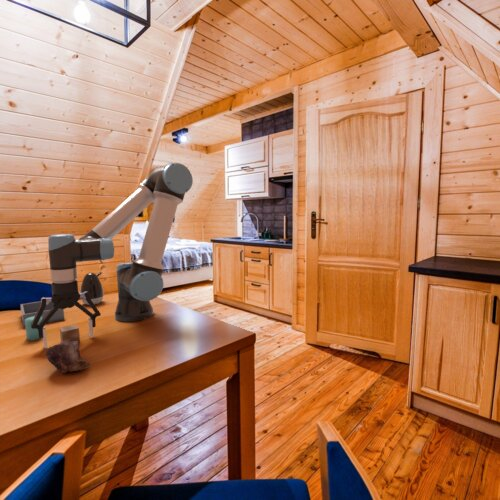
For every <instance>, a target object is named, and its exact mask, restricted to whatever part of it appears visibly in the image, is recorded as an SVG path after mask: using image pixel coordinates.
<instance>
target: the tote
mask: <svg viewBox="0 0 500 500" xmlns="http://www.w3.org/2000/svg"><path fill="white" fill-rule="evenodd" d="M40 305H41V300H40V301H33V302H27V303H20V305H19V306H20V312H21V320H22V325H23V328H26V327H25V319H26V318H29V317H34V316H35V315H36V313H37V311H38V309H39V307H40ZM53 305H54V303H53V302H52V301H50V302H49V304H48V305H46V307H45V309H44V311H43V313H42V315H41V317H42V319H43V318H44V317H45V315H46V314H47V313H48V312H49V311H50V309H51V308H52V306H53ZM64 311H65V309H60V308H59V309H58V310H57V311H56V312H55V313H54V315H53V316H52V317H51V318H50V320H49V321H48V322H47V323H46V324H49V323H55V322H59V321H65V312H64Z"/></svg>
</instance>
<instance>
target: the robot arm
mask: <svg viewBox="0 0 500 500" xmlns="http://www.w3.org/2000/svg"><path fill="white" fill-rule="evenodd" d="M193 179H194V178H193V175H192V173H191V171H190V169H188V167H187V166H186V165H185V164H183V163H179V162H170V163H167V164H165V165H161V166H159V167H157V168H155V169H154V170H153V171H151V173H150V174H149V175H148V176H146V178H145V179H143V180H142V181H141V182H140V183H139V184H138V189H137V190H135V191H134V192H133V193H132V194H131V195H129V197H127V198H126V199H125V200H123V202H122V203H120V204H119V205H118V206H117V207H116V208H115V209H113V210H112V211H111V212H110V213H109V214H108V215H107V216H106V217H104V218H103V219H102V220H101V221H100V222H98V223H97V224H96V226H94V227H93V228H92V229H90V230H89V232H87V233H86V234H85V235H83V236H81V237H79V238H78V239H76V238H75V235H74V234H71V233H70V234H69V233H67V234H66V233H61V234H51V235H50V236H48V238H47V239H48V248H47V250H48V259H49V260H48V261H49V270H50V281H51V294H52V295H51V297H44V296H42V297H41V298H40V301H41V305H40V307H39V309H38V311H37V313H36V315H35V317H34V319H33V321H32V323H31V328H32V329H34V328H35V329H38V335H39V338H40V339H39V340H41V339H42V340H43V341H42V344H43V348H44V349H47V348H48V341H47V333H46V332H47V330H46V327H45V326H46V324H48V323H47V322H48V321H49V320H50V318H51V317H52V316H53V315H54V313H55V312H56V311H57V310H58V309H59V308H60V309H63V310H65V309H72V308H74V307H76V308H78V309H79V310H81V311H82V312H83V313H84V314H86V315H87V316H88V318H87V322H88V336H89V338H91V339H92V338H94V329H93V328H96V318H98V317H101V312H100V310H99V309H98V308H97V306H96V304H95V305H94V303H93V302H92V301H91V299H90V297H89V293H88V292H87V291H84V293H80V291H79V283H78V280H77V279H78V271H77V263H80V262H81V263H82V262H90V261H91V262H94V261H105V260H112V259H113V258H114V255H115V245H114V241H113V240H112V239H114V238H115V237H116V236H117V235H118V234H119V233H120V232H121V231H122V230H124V228H125V227H127V226H128V225H129V224H130V223H131V222H132V221H133V220H134V219H135V218H136V217H138V216H139V215H140V214H141V213H142V212H143V211H144V210H145V209H146V208H147V207H149V206H150V205H151V204H152V203H154V204H153V207H152V211H151V214H150V217H149V221H148V224H147V228H146V231H145V235H144V237H143V241H142V245H141V249H140V251H139V255H138V258H136V259H134V260H133V261H131V262H123V263H122V262H121V263H118V264H117V265H116V271H115V273H116V281H117V294H118V295H117V296H118V300H117V304H116V308H115V311H114V319H115V320H116V321H119V322H125V323H126V322H128V323H129V322H139V321H142V320H145V319H149V318H150V317H152V316H153V315H154V308H153V306H152V304H151V303H152V302H151V301H153V300H154V299H156V298H158V296H160V294H162V292H163V288H164V280H163V277H162V276H163V272H164V267H163V265H162V262H163V258H164V257H163V256H164V253H165V250H166V247H167V244H168V239H169V236H170V234H171V230H172V226H173V223H174V219H175V215H176V212H177V209H178V206H179V205H180V204H182V203H184V199H185V195H186V193H188V191H190V189H191V188H192V186H193V182H194V181H193ZM80 297H82V298H83V299H86V301H87V302H88V304H89V305H88V306H89V307H90V308H91V309H92V311H93V312H92V311H90V310H89V309H87V308H86V307H85V306H84V305H82V304H81V303H80V302H79V299H81V298H80ZM50 301H52V302H53V303H54V305H53V306H52V308H51V309H50V311H49V312H48V313H47V314H46V315H45V317H44V318H43V319H42V320H41V322H40V323H39V324H38V322H39V320H40V317H41V315H42V313H43V311H44V309H45V307H46V305H48V304H49V302H50Z"/></svg>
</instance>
